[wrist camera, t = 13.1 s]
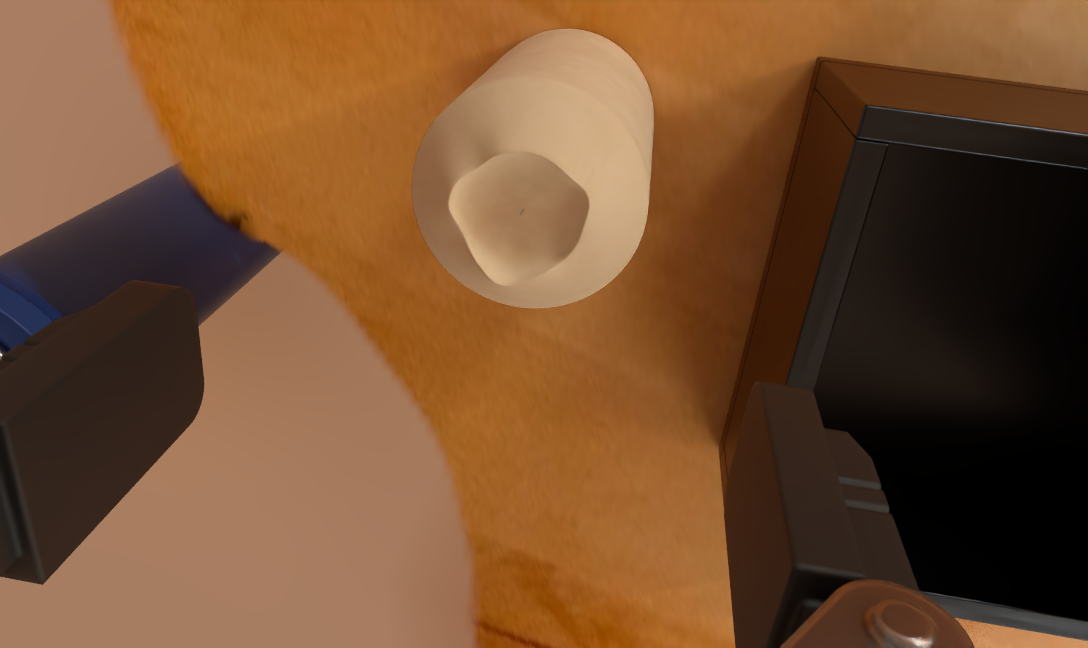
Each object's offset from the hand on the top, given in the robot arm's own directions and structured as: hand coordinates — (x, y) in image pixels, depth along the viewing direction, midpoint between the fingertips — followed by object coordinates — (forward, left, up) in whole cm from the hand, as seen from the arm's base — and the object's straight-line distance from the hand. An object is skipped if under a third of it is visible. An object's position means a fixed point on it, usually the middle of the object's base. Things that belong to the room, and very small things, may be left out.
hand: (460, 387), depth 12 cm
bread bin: (+14, -4, -17) cm, 22 cm away
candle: (0, 0, -17) cm, 17 cm away
